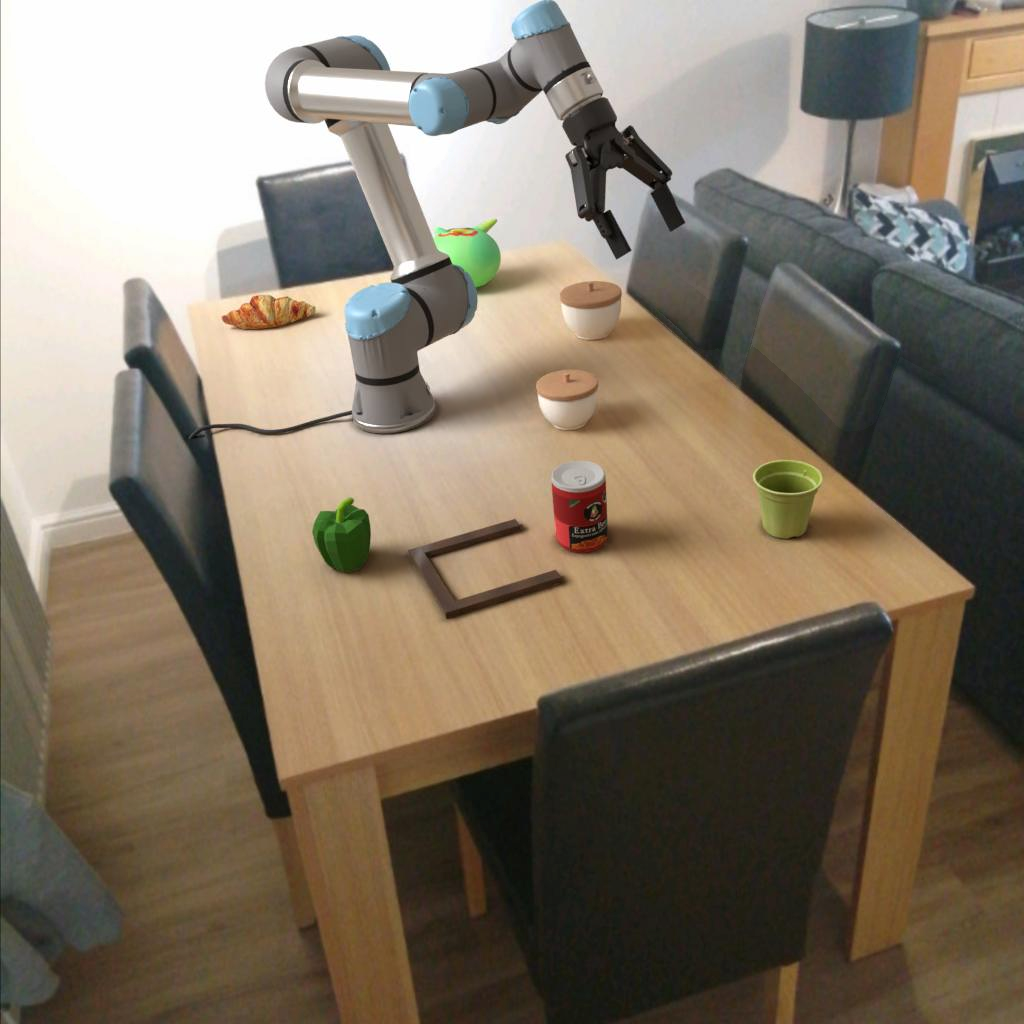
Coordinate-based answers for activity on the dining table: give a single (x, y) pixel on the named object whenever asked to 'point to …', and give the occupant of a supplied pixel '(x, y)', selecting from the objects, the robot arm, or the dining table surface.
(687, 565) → the dining table surface
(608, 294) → the lidded bowl
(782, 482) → the plant pot
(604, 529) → the canned food
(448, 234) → the toy bird
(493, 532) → the walnut frame
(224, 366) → the dining table surface
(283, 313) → the croissant
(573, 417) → the trinket box
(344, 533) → the bell pepper
